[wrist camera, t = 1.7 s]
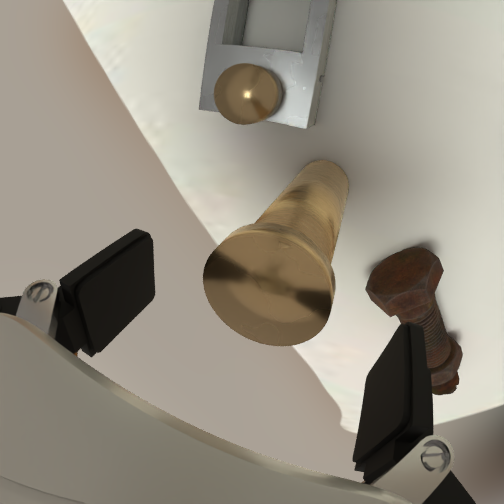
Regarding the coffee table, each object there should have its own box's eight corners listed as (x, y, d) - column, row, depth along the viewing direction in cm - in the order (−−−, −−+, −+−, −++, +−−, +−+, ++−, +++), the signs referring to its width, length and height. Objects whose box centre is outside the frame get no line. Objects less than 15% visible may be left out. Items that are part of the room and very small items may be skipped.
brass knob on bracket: (247, -55, 12) (219, -79, 9) (344, -50, 11) (336, -80, 7) (219, 110, 20) (185, 116, 16) (313, 129, 18) (299, 137, 15)
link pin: (299, 147, 19) (207, 218, 9) (361, 165, 18) (350, 264, 8) (287, 204, 22) (200, 319, 11) (344, 222, 21) (309, 360, 10)
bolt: (435, 359, 26) (387, 247, 22) (476, 364, 21) (442, 240, 17) (411, 405, 23) (352, 299, 19) (454, 415, 19) (415, 301, 15)
